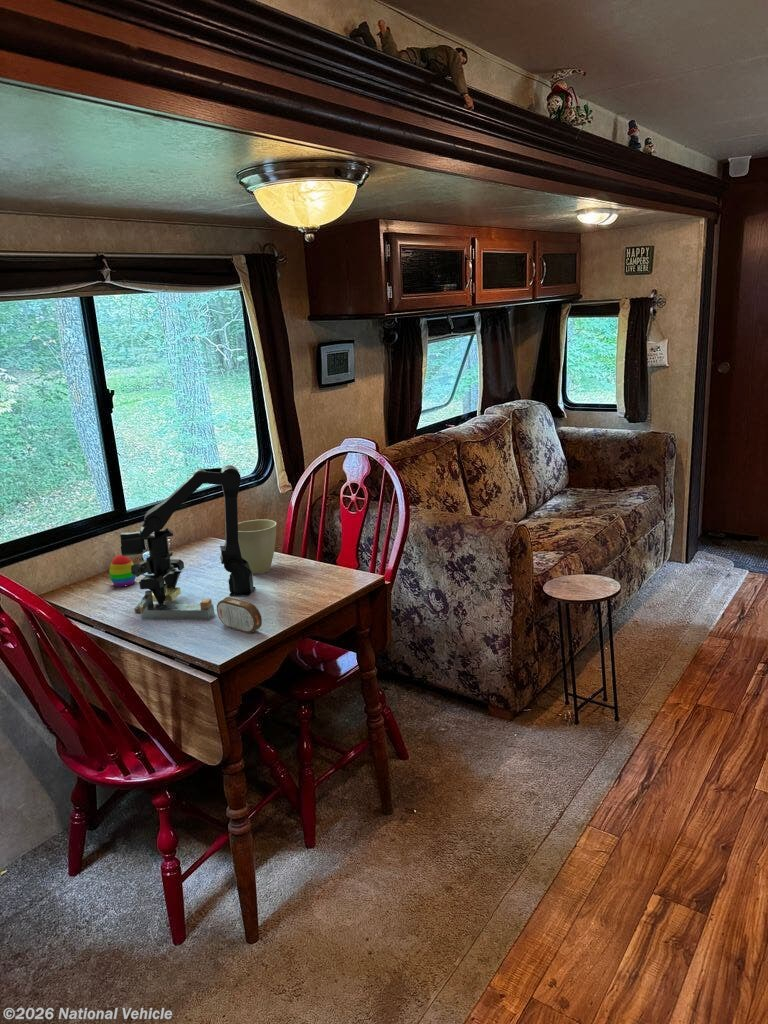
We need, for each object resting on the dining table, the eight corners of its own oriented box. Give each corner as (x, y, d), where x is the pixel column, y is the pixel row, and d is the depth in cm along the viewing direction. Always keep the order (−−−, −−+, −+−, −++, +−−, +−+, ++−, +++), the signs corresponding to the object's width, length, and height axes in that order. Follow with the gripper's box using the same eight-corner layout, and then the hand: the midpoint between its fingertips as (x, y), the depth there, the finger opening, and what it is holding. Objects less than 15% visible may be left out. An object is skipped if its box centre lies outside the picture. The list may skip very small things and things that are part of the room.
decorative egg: (107, 589, 228) (103, 559, 226) (116, 580, 236) (111, 552, 233) (133, 587, 228) (128, 558, 226) (140, 578, 236) (136, 550, 234)
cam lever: (143, 621, 192) (140, 606, 191) (136, 622, 192) (133, 606, 191) (154, 605, 203) (152, 590, 202) (148, 605, 203) (145, 590, 202)
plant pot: (286, 563, 244) (281, 518, 240) (273, 578, 230) (268, 531, 226) (244, 563, 246) (240, 519, 242) (229, 578, 232) (224, 531, 228)
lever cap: (180, 593, 215) (180, 587, 215) (172, 601, 209) (171, 595, 208) (159, 593, 216) (158, 587, 216) (149, 601, 210) (148, 595, 209)
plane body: (214, 613, 203) (212, 597, 202) (208, 620, 199) (206, 603, 198) (148, 613, 206) (146, 597, 205) (141, 620, 202) (139, 603, 200)
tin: (264, 632, 189) (261, 603, 187) (255, 637, 186) (252, 607, 184) (225, 621, 197) (221, 593, 195) (216, 625, 195) (213, 597, 193)
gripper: (147, 542, 219) (154, 589, 223) (118, 562, 201) (126, 612, 205) (181, 541, 217) (188, 589, 221) (155, 561, 199) (162, 612, 203)
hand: (166, 600), depth 213 cm, fingers closed on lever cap, 6 cm apart
